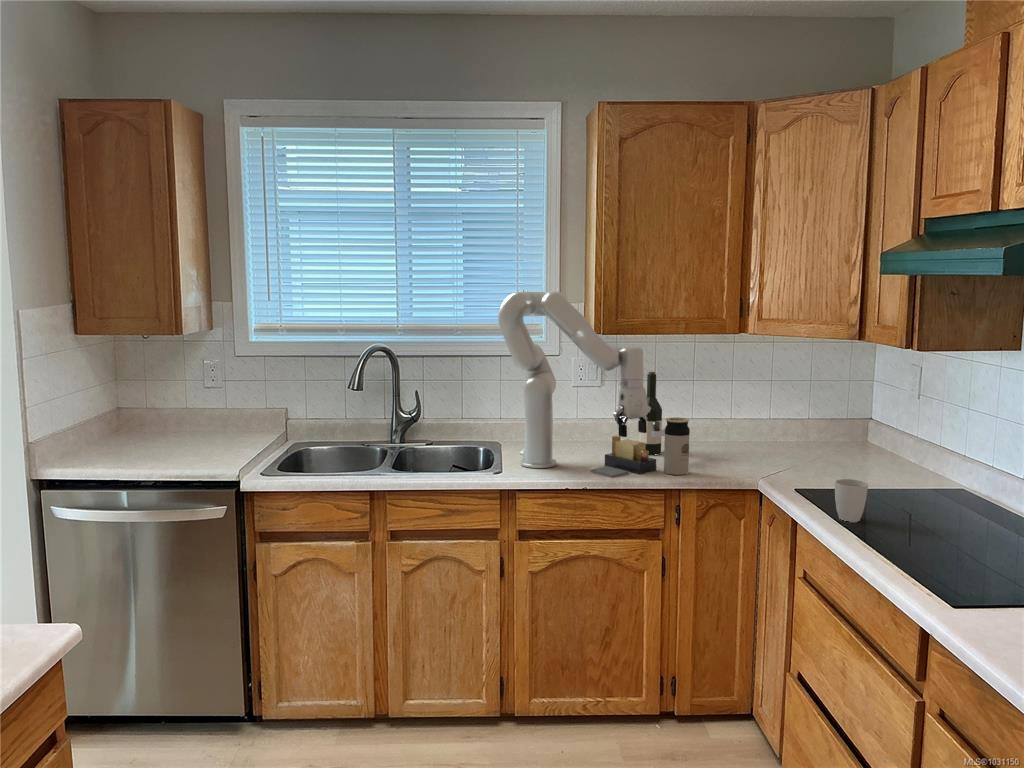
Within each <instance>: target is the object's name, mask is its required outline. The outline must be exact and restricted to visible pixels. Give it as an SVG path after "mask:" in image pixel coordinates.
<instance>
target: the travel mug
mask: <svg viewBox="0 0 1024 768" xmlns="http://www.w3.org/2000/svg"><path fill="white" fill-rule="evenodd" d="M665 420H666V426H665V427H664V428H665V436H664V446H663V448H664V451H663V452H664V453H663V473H665V474H667V475H670V476H685V475H688V474H689V467H690V466H689V465H690V464H689V463H690V462H689V461H690V456H689V455H690V435H691V434H690V433H691V432H690V428H689V422H690V419H689V418H687V417H676V416H675V417H674V416H673V417H667V418H665Z"/></svg>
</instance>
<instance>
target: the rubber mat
mask: <svg viewBox="0 0 1024 768" xmlns="http://www.w3.org/2000/svg"><path fill="white" fill-rule="evenodd" d="M589 472H590V473H593V474H597V475H600V476H605V477H609V478H616V477H621V476H625V475H629V474H630V472H629V471H625V470H621V469H617V468H613V467H609V466H605V465H604V466H600V467H595V468H591V469H589Z"/></svg>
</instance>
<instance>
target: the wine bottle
mask: <svg viewBox="0 0 1024 768" xmlns="http://www.w3.org/2000/svg"><path fill="white" fill-rule="evenodd" d="M646 378H647V379H646V395H647V405H648V406H650V407H651V410H650V413H649V416H648V420H647V421H646V427H647V432H646V433H641V432H639V437H638V438H639V440H638V442H643V443H645V450H646V451H649V456H656V455H655V454H659V455H661V454H662V436H660V437H651V431H653V422H660V429H663V428H662V426H663V425H662V423H663V419H662V418H663V408H662V407H661V405H660V403H659V401H658V399H657V374H656V372H655V371H648V373H647V376H646ZM660 453H661V454H660Z"/></svg>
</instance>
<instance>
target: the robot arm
mask: <svg viewBox="0 0 1024 768" xmlns="http://www.w3.org/2000/svg"><path fill="white" fill-rule="evenodd" d="M533 316H534V317H547V318H548V319H549V320H550V321H552V323H554V325H556V326H557V328H558V329H560V330H561V331H562V332H563V333H564V334H565V335H566V336H567V337H568V338H569V339H570V341H572V342H573V344H574V345H576V346H577V348H578V349H580V351H581V352H582V353H583V354H584V355H585V356H586V357H587V358H588V359H589V360H590V361H591V362H593V364H595V366H596V367H598V368H599V369H600V370H602V371H607V372H610V371H613V370H615V369H616V368H620V382H619V386H620V389H619V393H618V405H617V406H618V408H617V409H616V410H615V411H614V412H613V413H612V415H613V417H614V421H615V422H616V424H617V426H618V436H620V438H621V437H622V438H627V437H628V430H627V429H628V427H627V422H628V420H634V419H639V420H638V421H637V432H638V433H640V432H641V433H646V432H647V427H646V421H647V420H648V416H649V413H650V410H651V407H650V406H648V405H647V389H646V387H645V386H644V350H643V348H641V347H640V346H625V347H619V346H611V345H609V344H608V343H606V342H605V341H604V339H602V338H601V336H600V335H599V334H597V332H596V331H595V330H594V328H593V327H592V325H591V323H590V321H589V320H588V319H587V318H586V317H585V316H584V314H582V313H581V312H580V311H579V310H577V308H575V306H573V304H572V303H570V302H569V301H568V298H567V297H566V296H565V294H563V292H560V291H516V292H512V293H510V294H509V295H508V296H507V297H505V298H504V300H503V301H502V303H501V304H500V307H499V310H498V315H497V318H498V319H497V320H498V326H499V329H500V331H501V334H502V336H503V338H504V341H505V344H506V346H507V350H508V351H509V353H510V355H511V359H512V361H513V364H514V366H515V367H516V368H517V370H519V371H521V372H523V374H524V377H525V379H526V381H525V383H524V387H523V400H524V448H523V449H522V450H520V451H519V455H520V456H522V457H523V459H521V460H519V461H520V466H522V467H526V468H531V469H545V468H546V469H547V468H554V467H555V466H557V464H558V461H557V460H556V459H554V458H553V449H554V447H553V443H554V441H553V440H554V438H553V433H554V432H553V427H554V425H553V420H554V419H553V416H554V415H553V413H554V412H553V409H554V408H553V393H554V392H555V390H556V388H557V382H556V381H557V380H556V377H555V374H554V373H553V370H552V368H551V366H550V363H549V361H548V359H547V356H546V353H545V352H544V349H543V348H541V347H540V345H539V344H537V343H535V342H534V341H533V339H532V337H531V335H530V332H529V330H528V327H527V326H526V324H525V322H524V317H533Z"/></svg>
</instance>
